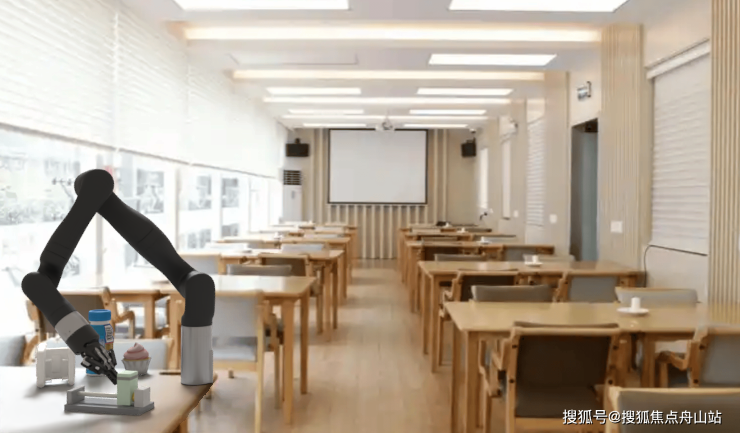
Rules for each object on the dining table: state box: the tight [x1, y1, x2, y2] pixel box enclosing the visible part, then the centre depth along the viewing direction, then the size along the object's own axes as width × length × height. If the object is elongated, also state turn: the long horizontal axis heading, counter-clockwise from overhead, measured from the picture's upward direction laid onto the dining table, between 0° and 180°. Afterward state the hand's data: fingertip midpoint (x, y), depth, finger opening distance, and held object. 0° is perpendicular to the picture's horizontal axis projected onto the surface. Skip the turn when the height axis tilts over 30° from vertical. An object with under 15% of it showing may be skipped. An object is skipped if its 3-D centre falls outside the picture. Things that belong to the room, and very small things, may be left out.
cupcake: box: [120, 342, 152, 376], centre depth 237 cm, size 9×9×10 cm
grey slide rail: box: [63, 385, 155, 416], centre depth 195 cm, size 21×8×6 cm, turn 78°
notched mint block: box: [116, 369, 139, 406], centre depth 194 cm, size 4×4×8 cm
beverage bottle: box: [85, 308, 115, 377], centre depth 236 cm, size 8×8×20 cm
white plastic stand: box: [34, 342, 76, 389], centre depth 223 cm, size 15×11×12 cm
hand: (119, 382), depth 195 cm, fingers closed
